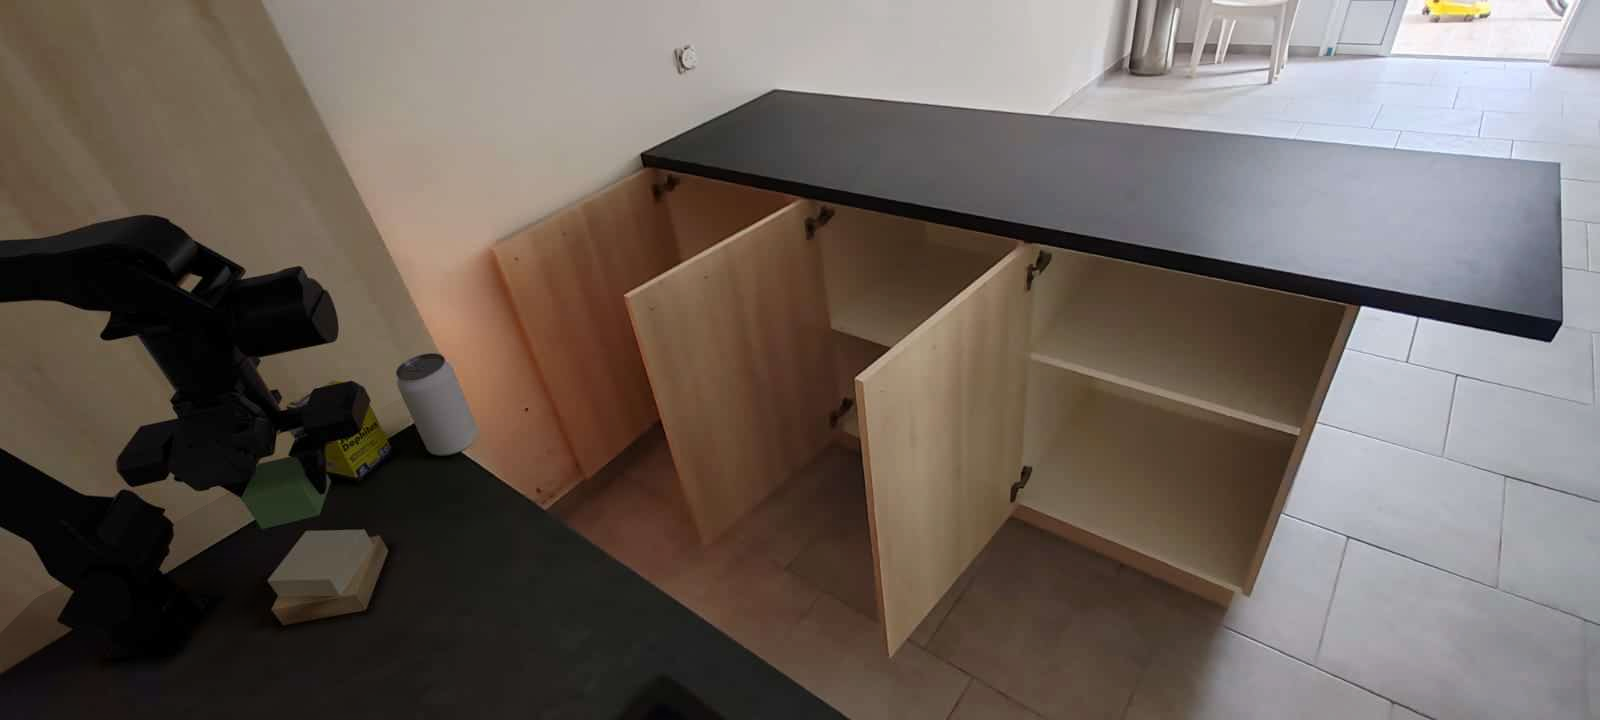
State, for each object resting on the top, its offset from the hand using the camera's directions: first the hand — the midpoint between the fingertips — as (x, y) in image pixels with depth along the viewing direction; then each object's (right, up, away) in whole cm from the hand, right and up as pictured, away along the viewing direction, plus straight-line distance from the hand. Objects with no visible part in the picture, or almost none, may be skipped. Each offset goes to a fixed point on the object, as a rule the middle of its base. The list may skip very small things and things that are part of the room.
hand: (293, 498), depth 71 cm
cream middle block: (0, -8, +5) cm, 10 cm away
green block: (0, -1, 0) cm, 1 cm away
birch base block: (0, -10, +6) cm, 12 cm away
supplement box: (-7, 0, +23) cm, 24 cm away
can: (+4, +3, +25) cm, 26 cm away
